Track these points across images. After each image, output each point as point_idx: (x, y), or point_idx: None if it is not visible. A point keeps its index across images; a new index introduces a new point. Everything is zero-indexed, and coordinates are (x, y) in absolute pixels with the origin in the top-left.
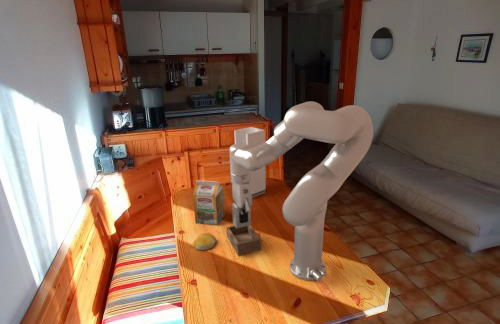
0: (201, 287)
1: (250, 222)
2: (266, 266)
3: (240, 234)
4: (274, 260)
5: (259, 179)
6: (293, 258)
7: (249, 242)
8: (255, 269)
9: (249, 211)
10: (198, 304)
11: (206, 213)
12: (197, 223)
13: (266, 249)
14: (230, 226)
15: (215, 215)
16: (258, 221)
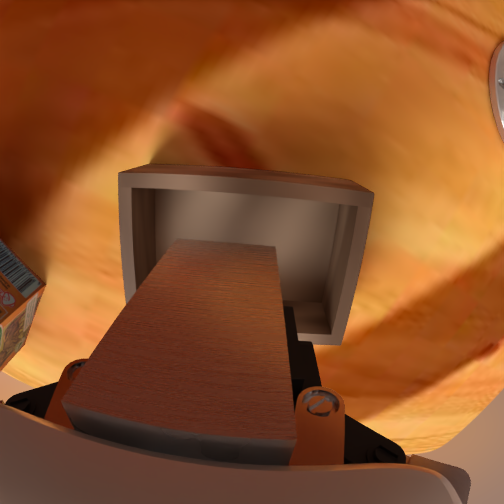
0: (385, 433)
1: (276, 260)
2: (461, 232)
3: (164, 226)
4: (453, 176)
5: None
6: (500, 111)
7: (356, 275)
8: (446, 281)
9: (284, 352)
10: (424, 439)
11: (3, 345)
12: (25, 340)
13: (365, 155)
14: (126, 302)
15: (13, 315)
16: (78, 68)
